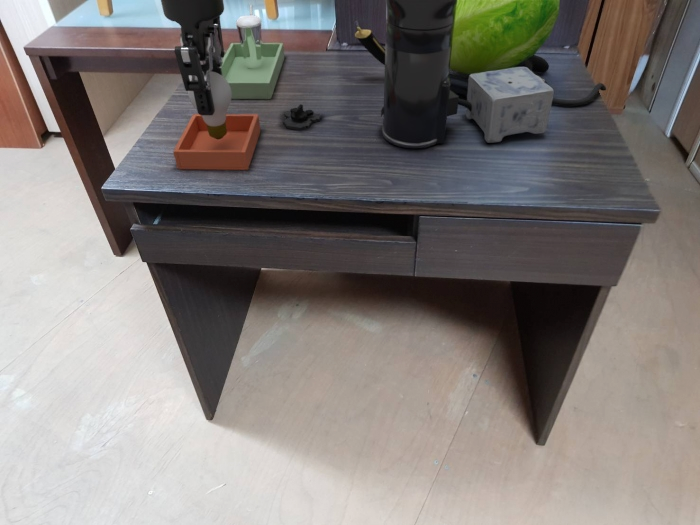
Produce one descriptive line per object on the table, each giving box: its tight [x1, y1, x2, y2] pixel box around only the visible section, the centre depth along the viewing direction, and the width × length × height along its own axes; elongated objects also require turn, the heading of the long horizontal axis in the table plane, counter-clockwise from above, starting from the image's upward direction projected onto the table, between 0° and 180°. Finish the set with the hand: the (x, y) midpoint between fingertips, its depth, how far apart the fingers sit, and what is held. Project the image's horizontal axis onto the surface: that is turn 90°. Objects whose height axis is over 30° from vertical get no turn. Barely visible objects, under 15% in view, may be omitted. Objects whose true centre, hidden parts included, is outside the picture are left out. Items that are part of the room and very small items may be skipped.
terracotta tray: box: [173, 113, 261, 171], centre depth 82 cm, size 10×11×3 cm
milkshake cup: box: [235, 4, 263, 69], centre depth 102 cm, size 4×5×10 cm
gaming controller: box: [513, 54, 550, 85], centre depth 97 cm, size 11×4×7 cm
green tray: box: [220, 42, 285, 100], centre depth 101 cm, size 10×18×3 cm, turn 178°
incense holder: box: [465, 67, 555, 144], centre depth 84 cm, size 10×8×10 cm
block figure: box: [282, 104, 322, 131], centre depth 88 cm, size 6×2×6 cm
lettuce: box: [450, 0, 561, 76], centre depth 91 cm, size 15×23×16 cm
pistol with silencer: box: [354, 26, 469, 97], centre depth 93 cm, size 4×25×11 cm, turn 53°
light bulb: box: [187, 71, 232, 139], centre depth 78 cm, size 6×6×10 cm
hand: (212, 102), depth 78 cm, fingers closed on light bulb, 6 cm apart
